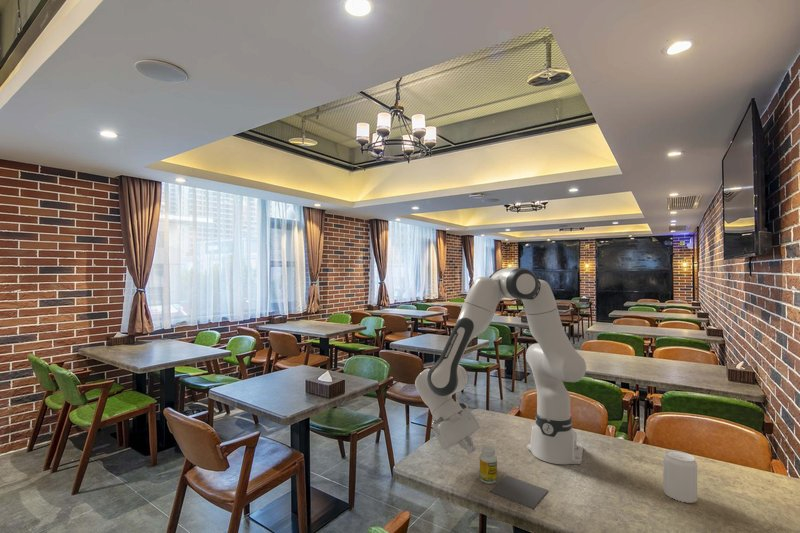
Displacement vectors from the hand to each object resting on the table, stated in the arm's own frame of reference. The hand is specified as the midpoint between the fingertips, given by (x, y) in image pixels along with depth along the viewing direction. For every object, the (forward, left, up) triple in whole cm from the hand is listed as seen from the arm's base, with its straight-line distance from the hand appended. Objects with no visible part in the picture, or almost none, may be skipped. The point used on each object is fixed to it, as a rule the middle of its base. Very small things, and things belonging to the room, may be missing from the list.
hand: (472, 452), depth 124 cm
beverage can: (-29, +53, -7) cm, 60 cm away
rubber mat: (0, +16, -7) cm, 17 cm away
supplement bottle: (0, +6, -7) cm, 9 cm away
